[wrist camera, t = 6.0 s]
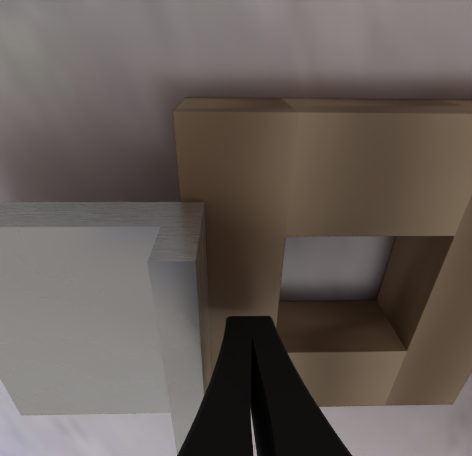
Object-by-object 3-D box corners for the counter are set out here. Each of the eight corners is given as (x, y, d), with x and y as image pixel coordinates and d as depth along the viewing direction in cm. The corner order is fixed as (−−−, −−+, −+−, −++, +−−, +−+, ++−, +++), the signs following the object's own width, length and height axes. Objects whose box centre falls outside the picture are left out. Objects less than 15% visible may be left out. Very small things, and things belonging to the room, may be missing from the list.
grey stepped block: (204, 202, 9) (195, 261, 7) (211, 376, 13) (207, 456, 10) (-39, 201, 9) (-150, 263, 6) (42, 378, 13) (-6, 461, 10)
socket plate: (528, 100, 11) (623, 115, 8) (418, 351, 17) (452, 404, 15) (186, 97, 11) (173, 111, 8) (202, 354, 17) (197, 409, 14)
